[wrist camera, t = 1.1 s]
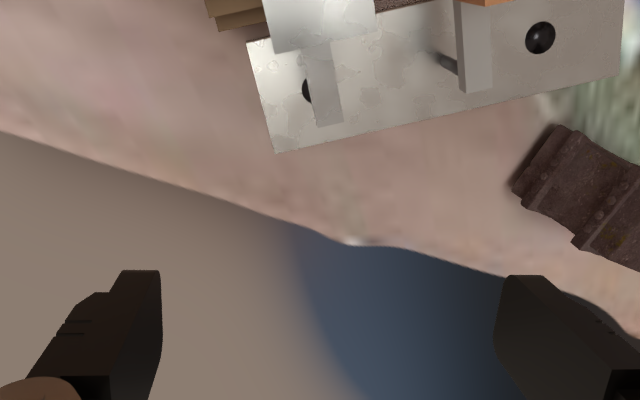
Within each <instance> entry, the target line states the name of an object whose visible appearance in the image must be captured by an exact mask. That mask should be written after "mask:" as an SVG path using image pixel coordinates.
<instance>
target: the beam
mask: <svg viewBox="0 0 640 400" xmlns="http://www.w3.org/2000/svg"><path fill="white" fill-rule="evenodd" d="M204 1H205V4H206V8H207V11H208V15H209V18H212V17H215V20H216V24H217V27H218V31H219V32H221V31H225V30H230V29H234V28H239V27H243V26H247V25H252V24H256V23H261V22H265V21H267V20H266V16H265V11H264V7H263V3H262V0H204Z"/></svg>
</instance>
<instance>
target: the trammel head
mask: <svg viewBox="0 0 640 400" xmlns="http://www.w3.org/2000/svg"><path fill="white" fill-rule="evenodd" d="M509 1H513V0H453V10H454V24H455V38H456V53H457V60H455V59H453V58H451V57H449V56H443V57H442V58H441V59H440V65H441V66H442V67H443V68H445V69H447V70H448V71H450V72H452V73H454V74H455V75H457V76H458V81H459V89H460V90H461V91H463V92H464V93H466V94H468V93H473V92H477V91H481V90H486V89H490V88H493V80H492V54H491V28H490V6H491V5H496V4H500V3H504V2H509Z"/></svg>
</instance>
